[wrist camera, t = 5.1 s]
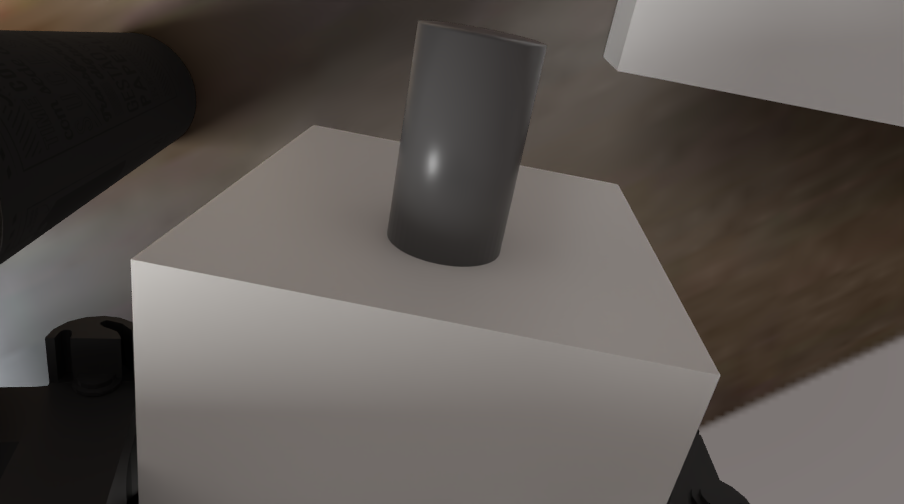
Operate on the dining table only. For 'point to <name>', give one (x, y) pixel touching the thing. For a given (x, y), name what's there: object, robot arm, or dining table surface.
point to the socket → (771, 50)
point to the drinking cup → (80, 120)
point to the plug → (415, 318)
